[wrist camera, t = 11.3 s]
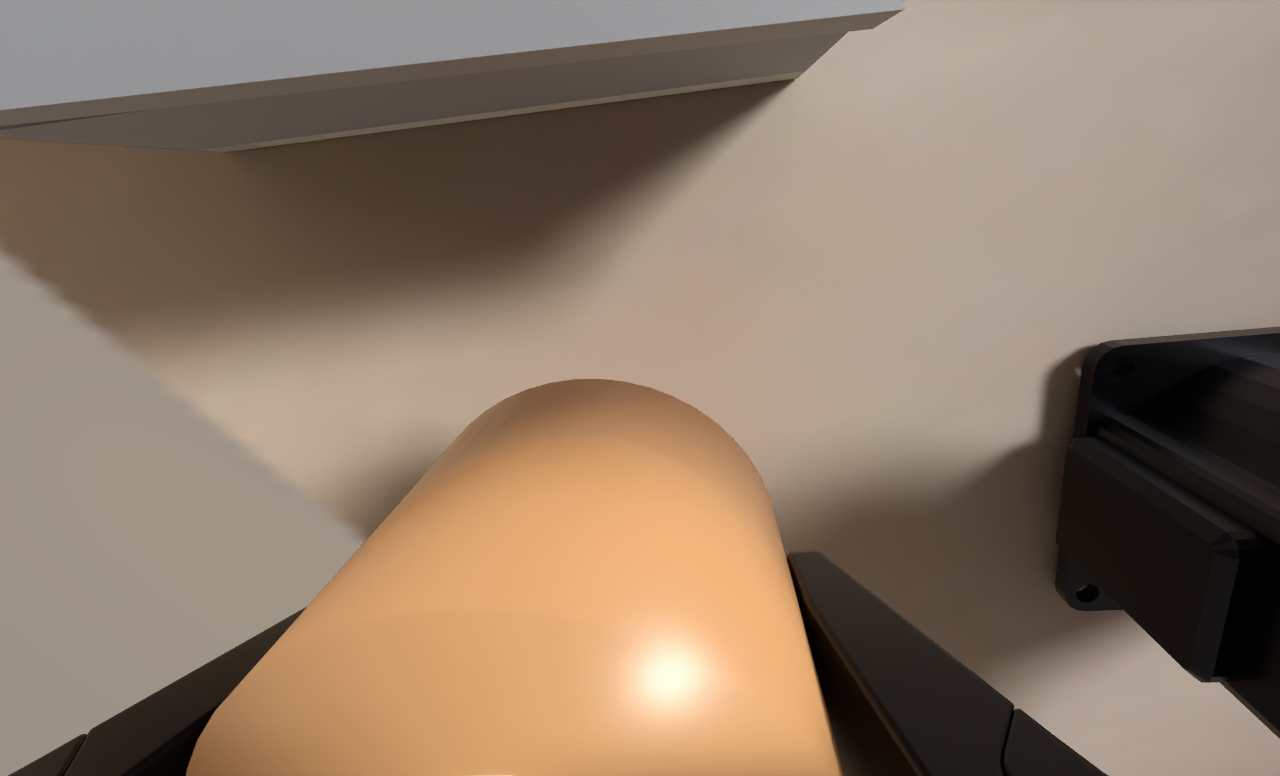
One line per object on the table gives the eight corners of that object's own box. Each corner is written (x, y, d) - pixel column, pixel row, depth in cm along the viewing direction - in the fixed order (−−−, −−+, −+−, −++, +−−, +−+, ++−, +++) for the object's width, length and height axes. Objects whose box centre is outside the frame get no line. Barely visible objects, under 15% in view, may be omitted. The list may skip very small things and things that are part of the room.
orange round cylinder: (770, 363, 9) (878, 595, 4) (783, 680, 10) (868, 1114, 6) (390, 394, 9) (62, 631, 4) (464, 689, 11) (289, 1091, 6)
